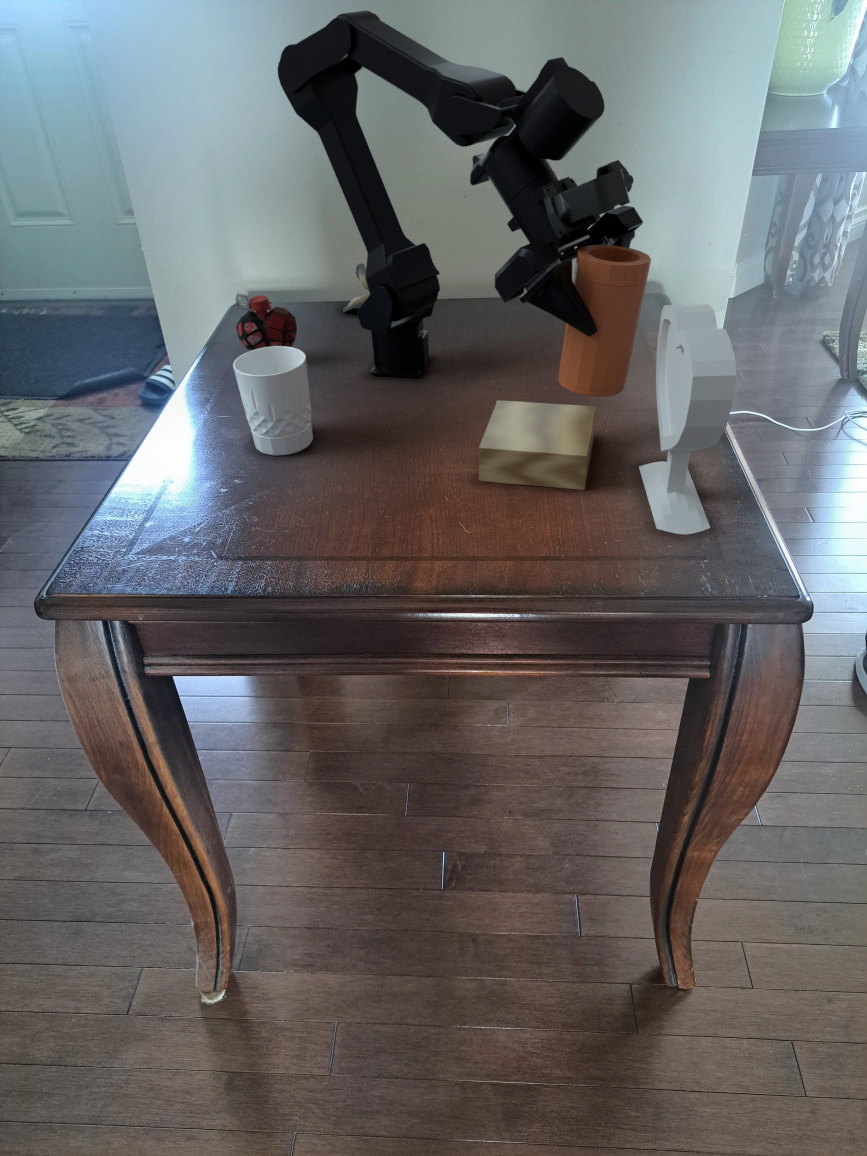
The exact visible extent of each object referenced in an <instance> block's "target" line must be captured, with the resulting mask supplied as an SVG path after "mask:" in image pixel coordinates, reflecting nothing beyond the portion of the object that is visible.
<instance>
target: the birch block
mask: <svg viewBox="0 0 867 1156" xmlns="http://www.w3.org/2000/svg"><path fill="white" fill-rule="evenodd" d="M596 413H597V406H594V405H579V404H563V403H546V402H533V401H532V402H530V401H529V402H528V401H515V400H514V401H513V400H499V399H498V400H496V402H495V405H494V408H493V411H492V413H491V416H490V418H489V420H488V423H487V426H486V428H485V431H484V433H483V436H482V437H481V440H480V443H479V446H478V481H479V482H486V483H495V484H496V483H497V484H509V485H510V484H511V485H522V486H533V487H544V488H557V489H570V490H581V491H584V490H585V489H586V484H587V478H588V473H589V468H590V462H591V456H592V450H593V445H594V439H595V430H596V429H595V428H596V416H597V414H596Z"/></svg>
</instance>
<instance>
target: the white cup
mask: <svg viewBox="0 0 867 1156" xmlns="http://www.w3.org/2000/svg"><path fill="white" fill-rule="evenodd" d="M307 363H308V362H307V356H306V354H305V352H304V351H302V350H301V349H299V348H296V347H293V346H292V347H286V346H271V347H264V348H259V349H255V350H252V351H249V350H248V351H247V352H244V353H243V354H241V355H238V357H236V358H235V359H234V360H233V363H232V367H233V368H232V369H233V371H234V376H235V380H236V383H237V387H238V390H239V391H238V392H239V393H240V394H239V395H240V398H241V403H242V406H243V408H244V413H245V417H246V419H247V423H248V424H247V425H248V426H249V428H250V432H251V434H252V439H253V443H254V446H255V449H256V450H258V451H259V452H260V453H262V454H265V455H269V456H288V455H292V454H296V453H299V452H301V451H303V450H305V449H306V448H308V447H309V446H310V445H311V443H312V442H313V440H314V434H313V426H312V406H311V404H312V403H311V392H310V383H309V373H308V364H307Z"/></svg>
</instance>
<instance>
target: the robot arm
mask: <svg viewBox="0 0 867 1156" xmlns="http://www.w3.org/2000/svg"><path fill="white" fill-rule="evenodd" d="M364 69H366V70H368V71H369V72H371V73H372V74H374V75H376V76H377V77H379V78H380V79H382V80H384V81H385V82H386V83H388V84H390V85H391V86H393V87H395V88H396V89H398V90H399V91H400V92H402V93H404V94H405V95H407V96H409V97H411V98H412V99H413V100H415V101H417V102H419V104H421V105H422V106H423V107H424V108H425V109H426V110H427V112H428V115H429V117H430V119H431V122H432V123H433V125H434V126H435V127H436V128H437V129H438V130H439V131H440V132H441V133H443V135H445V137H446V138H447V139H449V140H450V141H451V142H452V143H454V144H455V145H456V146H459V147H465V148H466V147H471V146H474V145H477V144H478V145H479V144H480V143H485V142H488V141H492V140H494V141H493V143H492V144H491V145H490V146H489V147H488V149H487V150H486V151H485V152H482V153H478V154H475V155H473V156H472V166H471V167H472V168H471V171H470V175H469V183H470V185H471V186H476V185H481V184H483V183H485V182H489V181H490V183H491V185H492V186H493V188H494V189H495V191H496V192H497V194H498V196H499V197H500V199H501V200H502V202H503V203H504V205H505V206H506V208H507V210H508V211H509V213H510V215H511V216H512V217H511V219H509V221H508V222H507V223H506V225H507V227H508V228H509V230H510V231H511V233H514V232H516V231H519V230H521V232H522V233H523V236H525V238H526V240H527V241H528V244H526V245H523V246H520V247H519V248H518V249H517V250H516V251H515V252H514V253H513V254H512V255H511V257H509V259H508V260H506V262H505V263H504V264H503V265H502V266H501V267H500V268H499V269H498V270H497V271H496V272H495V273H494V289H495V291H497V293H498V295H499V296H500V298H501V300H502V301H503V303H504V304H506V303H508V302H510V301H512V300H515V299H516V298H518V297H520V298H519V301H520V302H521V304H526V303H528V304H530V305H532V306H534V307H536V308H538V309H540V310H542V311H544V312H546V313H548V314H549V315H551V316H553V317H555V318H556V319H559V320H560V321H562V322H564V323H565V324H566V323H567V324H569V325H570V326H572V327H574V328H575V329H577V330H579V331H580V332H582V333H583V334H585V335H587V336H589V337H590V336H592V335H593V334H595V333H596V332H597V328H596V325H595V323H594V321H593V319H592V316H591V315H590V313H589V311H588V309H587V307H586V305H585V304H584V302H583V300H582V298H581V296H580V294H579V293H578V291H577V289H576V287H575V285H574V283H573V260H575V259H577V253H578V250H579V249H580V248H582V247H586V246H590V245H615V246H621V247H627V248H630V247H631V242H632V240H634V239H635V238H636V231H637V230H638V229H639V228H640V227H641V226H642V225H643V224H644V220H643V219H642V217H641V216H640V215H639V212H638V211H637V210H636V207H634V206H629V205H627V204H630V203H631V200H630V195H629V193H630V192H631V190H632V188H633V183H634V177H633V176H632V174H630V173H629V171H628V169H627V167H625V166H624V165H623V163H621V161H620V160H619V159H617V160H614V161H611V162H608V163H607V164H605V165H602V166H599V167H597V170H596V177H595V178H593V179H590V180H588V181H585V182H584V183H581V184H579V185H578V184H577V182H576V181H575V180H574V178H572V177H570V176H567V177H564V178H559V176H558V174H557V172H556V171H555V170H554V168H553V166H552V165H551V163H550V161H555V162H556V161H561V160H563V159H564V158H565V157H566V156H567V155H568V154H570V152H571V151H572V149H573V148H574V147H575V146H577V144H578V143H579V142H580V141H581V139H583V138H584V136H585V135H586V134H587V133H588V132H589V131H590V129H591V128H592V127H593V126H594V125H595V124H596V123H597V121H598V120H599V119H600V118H601V117H602V116H603V115H604V113H605V100H604V97H603V94H602V92H601V90H600V88H599V86H598V85H597V83H596V82H595V81H594V80H591V79H590V78H589V77H588V76H587V75H585V74H584V73H583V72H581V71H580V70H578V69H577V68H575V67H572V66H569V65H568V63H567V61H566V60H565V58H564V57H563V56H559V57H554V58H550V59H547V61H546V62H545V63H544V65H543V66H542V68H541V69H540V71H539V73H538V75H537V77H536V79H535V80H534V81H533V83H532V84H531V85H530V87H528V89H527V90H524V89H520V88H517V87H516V85H515V84H514V82H513V80H512V79H510V78H509V77H508V76H506V75H505V74H502V73H499V72H496V71H493V70H489V69H487V68H484V67H480V66H472V65H465V64H458V63H455V62H453V61H449V60H447V59H446V58H445V57H443V56H441V55H440V54H438V53H436V52H435V51H432V49H429V48H427V47H426V46H424V45H423V44H421V43H419V42H418V41H416V40H414V39H412V38H411V37H409V36H407V35H406V34H404V33H403V32H401V31H399V30H398V29H396V28H395V27H393V26H391V25H389V24H388V23H386V22H385V21H382V20H381V19H380V17H379V16H378V15H377V14H376V13H373V12H372V11H370V10H358V11H351V12H346V13H345V12H343V13H339V14H338V15H337V16H336V17H334V18H333V19H332V20H331V21H329V22H328V23H327V24H326V25H325V26H324V27H322V28H321V29H319V30H317V31H315V32H314V33H312V34H310V35H308V36H307V37H305V38H303V39H301V40H299V41H298V42H297V43H292V44H288V45H287V46H285V47H284V48H283V50H282V52H281V53H280V57H279V61H278V65H277V77H278V80H279V84H280V86H281V89H282V90H283V93H284V94H285V96H286V98H287V100H288V102H289V103H290V105H291V107H292V109H293V111H294V113H295V114H296V115H297V116H298V117H299V118H300V119H301V120H302V121H304V123H306V124H307V125H309V127H311V128H312V129H313V130H314V132H316V133H317V135H318V136H319V139H320V141H321V143H322V147H323V149H324V151H325V153H326V156H327V158H328V160H329V163H330V165H331V168H332V171H333V172H334V175H335V177H336V179H337V182H338V184H339V187H340V189H341V192H342V194H343V196H344V199H345V201H346V203H347V206H348V208H349V211H350V213H351V215H352V218H353V220H354V223H355V226H356V228H357V230H358V233H359V235H360V237H361V240H362V242H363V244H364V247H365V250H366V253H367V256H366V265H365V267H366V282H367V285H368V289H369V291H368V293H370V295H369V296H368V298H367V299H366V300H365V302H364V303H363V304H362V306H361V307H360V308H359V309H358V308H357V311H356V315H357V318H358V321H359V324H360V327H361V328H362V329H364V330H367V331H370V334H371V340H372V352H373V363H374V365H373V366H372V368H371V370H370V374H371V375H372V376H386V377H401V378H418V377H419V376H420V374H421V372H422V371H423V369H424V368H426V365H427V364H428V362H429V361H430V349H429V348H430V347H429V333H428V331H427V330H426V329H425V330H424V319H425V318H429V317H431V316H433V312H434V307H435V304H436V302H437V300H438V296H439V292H440V291H441V287H440V281H439V278H438V276H439V275H440V271H439V270H438V269H437V267H436V265H435V263H434V261H433V258H432V255H431V254H432V253H431V250H430V248H429V247H428V245H427V243H425V242H421V243H418V244H415V243H414V242H413V241H411V239H409V238H408V236H406V235H405V233H404V231H403V228H402V225H401V224H400V221H399V217H398V216H397V213H396V210H395V208H394V206H393V203H392V201H391V199H390V195H389V193H388V191H387V188H386V185H385V183H384V181H383V177H382V176H381V173H380V170H379V168H378V166H377V163H376V161H375V159H374V156H373V154H372V153H373V152H372V151H371V148H370V146H369V143H368V141H367V138H366V136H365V134H364V131H363V128H362V126H361V124H360V121H359V119H358V115H357V111H358V98H359V83H358V80H357V74H358V73H360V72H361V71H362V70H364ZM619 205H620V206H619ZM617 206H618V207H617ZM601 215H602V216H601ZM525 290H526V292H525ZM523 294H524V295H523Z"/></svg>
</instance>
